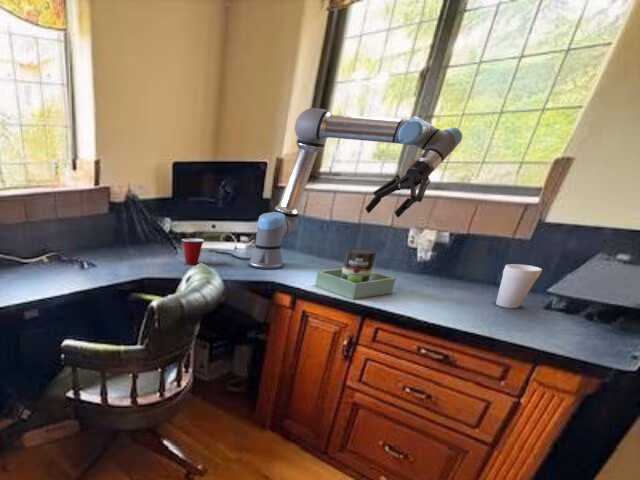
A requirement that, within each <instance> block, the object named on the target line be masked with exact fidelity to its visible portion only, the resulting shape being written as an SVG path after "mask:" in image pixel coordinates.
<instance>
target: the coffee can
mask: <svg viewBox="0 0 640 480" xmlns="http://www.w3.org/2000/svg"><path fill="white" fill-rule="evenodd" d="M345 252H346V253H345V256H344V260H343V265H342V268H343V269H342V273H341V277H340V278H342V279H346V280H349V281H352V282H355V283H360V282H367V281H369V277H370V274H371V271H372V270H373V265H374V262H375V260H376V259H375V258H376V255H377V251H376V250H373V249H370V248H362V247H353V248H352V247H351V248H347V249H345Z"/></svg>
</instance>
